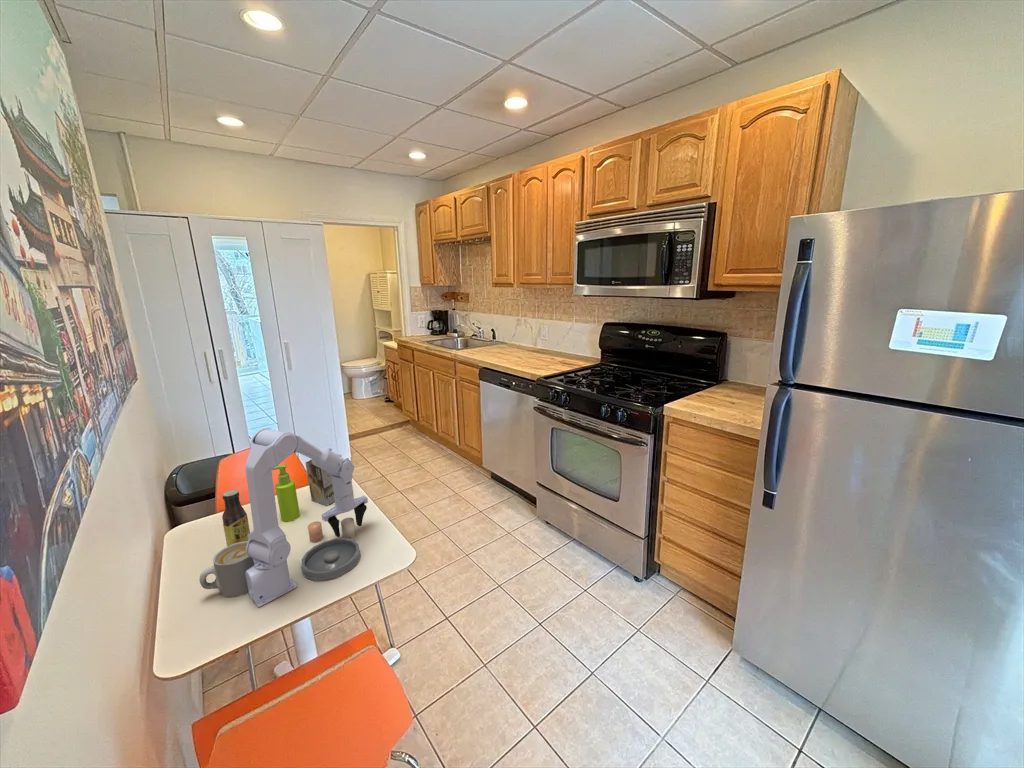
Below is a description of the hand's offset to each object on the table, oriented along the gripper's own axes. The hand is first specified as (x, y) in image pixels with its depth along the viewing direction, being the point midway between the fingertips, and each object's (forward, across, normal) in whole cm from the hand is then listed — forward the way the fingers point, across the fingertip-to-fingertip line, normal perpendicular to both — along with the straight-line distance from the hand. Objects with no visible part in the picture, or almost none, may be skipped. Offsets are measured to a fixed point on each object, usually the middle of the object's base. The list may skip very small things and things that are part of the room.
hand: (348, 530), depth 132 cm
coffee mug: (+2, +32, -2) cm, 32 cm away
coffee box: (+2, -5, -28) cm, 28 cm away
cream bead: (+2, 0, 0) cm, 2 cm away
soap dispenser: (+2, +9, -26) cm, 28 cm away
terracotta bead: (+1, +8, -6) cm, 10 cm away
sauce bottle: (+2, +26, -18) cm, 32 cm away
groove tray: (+1, +10, +9) cm, 14 cm away
